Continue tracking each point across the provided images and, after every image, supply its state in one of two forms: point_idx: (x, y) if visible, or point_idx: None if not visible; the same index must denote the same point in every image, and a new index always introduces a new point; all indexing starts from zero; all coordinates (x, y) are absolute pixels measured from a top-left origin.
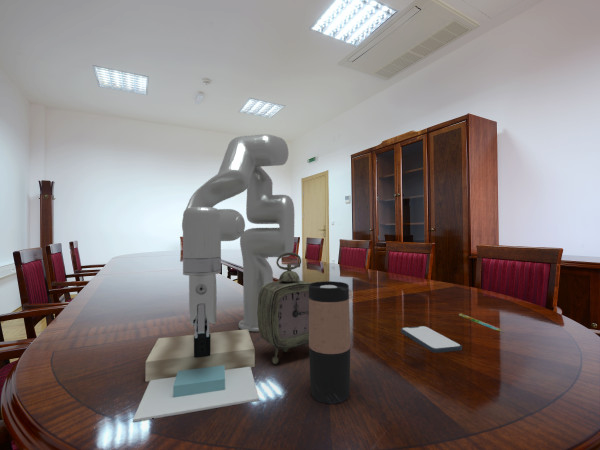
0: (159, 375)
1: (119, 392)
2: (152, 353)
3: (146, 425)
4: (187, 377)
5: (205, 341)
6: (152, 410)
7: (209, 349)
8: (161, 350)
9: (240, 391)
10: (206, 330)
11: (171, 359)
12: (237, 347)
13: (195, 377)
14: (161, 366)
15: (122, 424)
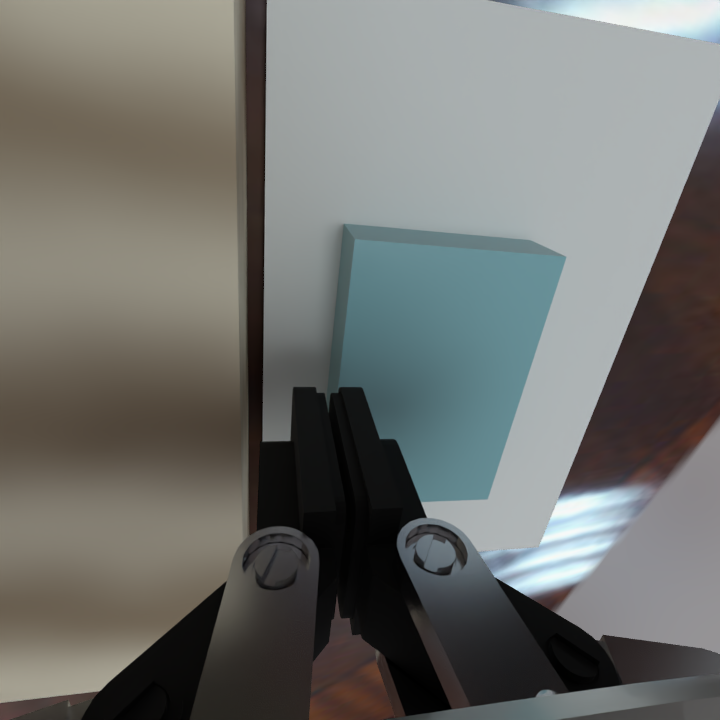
0: None
1: None
2: None
3: (574, 503)
4: (430, 455)
5: (423, 515)
6: (520, 510)
7: (371, 420)
8: (69, 656)
9: (601, 150)
10: (579, 642)
11: None
12: (121, 63)
13: (451, 418)
14: None
15: (526, 559)
